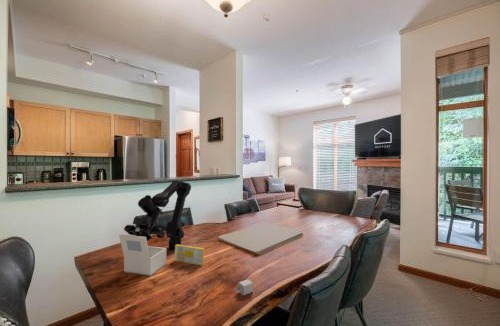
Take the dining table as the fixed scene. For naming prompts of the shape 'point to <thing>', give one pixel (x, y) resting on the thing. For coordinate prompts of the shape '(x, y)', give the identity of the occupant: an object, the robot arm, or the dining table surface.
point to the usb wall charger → (245, 287)
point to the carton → (146, 262)
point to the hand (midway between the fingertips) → (135, 249)
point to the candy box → (189, 254)
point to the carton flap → (134, 246)
